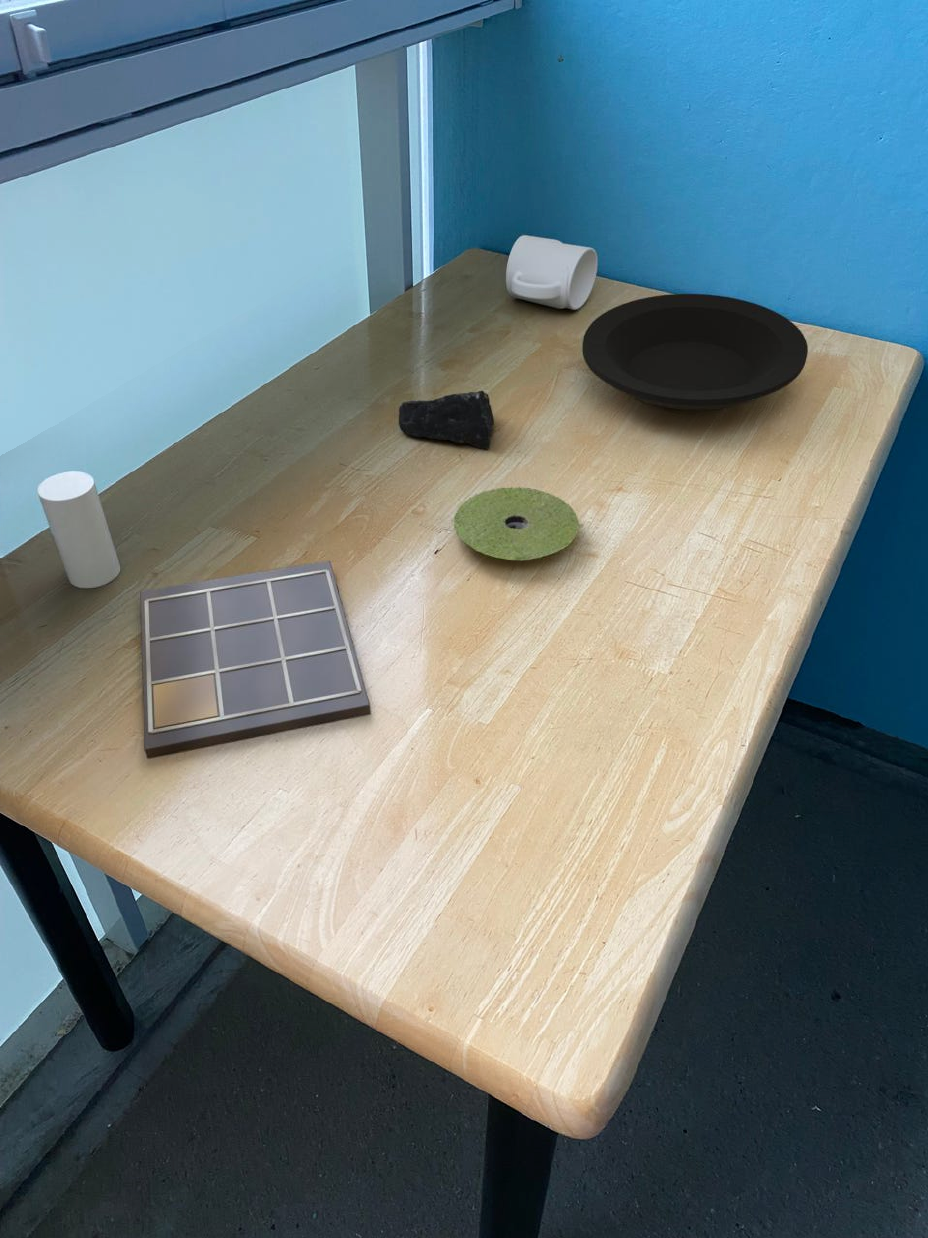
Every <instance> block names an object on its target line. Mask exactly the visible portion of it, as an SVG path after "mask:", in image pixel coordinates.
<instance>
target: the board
mask: <svg viewBox="0 0 928 1238" xmlns="http://www.w3.org/2000/svg"><path fill="white" fill-rule="evenodd" d="M139 595H140V596H139V597H140V629H141V630H140V636H141V640H140V641H141V674H142V679H141V680H142V715H143V719H142V721H143V750H144V753H145V757H146V758H147V759H153V758H157V757H162V756H167V755H172V754H177V753H182V752H186V751H192V750H197V749H202V748H206V747H212V746H218V745H222V744H223V745H224V744H227V743H233V742H238V741H243V740H247V739H252V738H253V739H254V738H258V737H262V736H267V735H271V734H277V733H283V732H287V731H293V730H297V729H302V728H307V727H312V726H317V725H322V724H323V725H324V724H328V723H332V722H337V721H338V722H339V721H343V720H348V719H352V718H358V717H363V716H368V715H371V713H372V711H371V703H370V700H369V697H368V694H367V690H366V686H365V682H364V678H363V674H362V671H361V668H360V664H359V660H358V656H357V652H356V649H355V646H354V642H353V640H352V636H351V631H350V627H349V624H348V621H347V617H346V613H345V610H344V606H343V602H342V597H341V595H340V591H339V588H338V584H337V581H336V577H335V574H334V570H333V567H332V562H331V560H323V561H318V562H312V563H306V564H300V565H293V566H287V567H281V568H280V567H279V568H275V569H274V568H273V569H269V570H263V571H256V572H250V573H245V574H238V575H233V576H226V577H221V578H215V579H208V580H203V581H196V582H195V581H194V582H189V583H182V584H177V585H172V586H165V587H159V588H153V589H146V590H141V591H140V594H139Z"/></svg>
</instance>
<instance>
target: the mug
mask: <svg viewBox="0 0 928 1238" xmlns="http://www.w3.org/2000/svg"><path fill="white" fill-rule="evenodd" d="M597 272H598V254H597V251H596V249H594V248H593V247H588V246H583V245H575V244H569V243H563V242H562V241H560V240H558V239H553V238H545V237H539V236H534V235H526V234H522V235H520V236H519V237H518V238H517V240H516V241H515V242H514V244H513V246H512V248H511V250H510V253H509V256H508V259H507V264H506V272H505V284H506V290H507V294H508V295H509V296H510V297H512V298H515V299H518V300H522V301H526V302H530V303H535V304H539V305H543V306H546V307H551V308H554V309H560V310H562V309H563V310H564V309H569V310H574V311H577V310H579V309H580V308H582V307H583V306H584V305H585V303H586V302H587V300H588V299H589V297H590V295H591V292H592V290H593V288H594V285H595V281H596V277H597Z"/></svg>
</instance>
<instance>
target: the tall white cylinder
mask: <svg viewBox="0 0 928 1238" xmlns="http://www.w3.org/2000/svg"><path fill="white" fill-rule="evenodd" d="M36 491H37V492H36V494H37V496H38V499H39V501H40V504H41V507H42V510H43V512H44V515H45V519H46V521H47V525H48V526H49V529H50V532H51V535H52V538H53V541H54V544H55V546H56V550H57V552H58V554H59V557H60V560H61V563H62V565H63V568H64V571H65V574H66V577H67V580H68V582H69V583H70V584H71V586H74V587H76V588H80V589H95V588H99V587H102V586H105V585H107V584H109V583H111V582H113V581H114V580H115V579H116V578H117V577H118V576H119V574H120V572H121V564H120V560H119V558H118V554H117V550H116V547H115V544H114V541H113V538H112V534H111V532H110V528H109V525H108V521H107V519H106V515H105V512H104V508H103V506H102V505H103V504H102V502H101V499H100V496H99V492H98V489H97V485H96V482H95V479H94V477H93V476H92V475H90V474H89V473H87V472H83V471H77V470H70V471H63V472H59V473H55V474H52V475H50V476H48V477H47V478H45V479H43V480H42V481H41V482H40V484H39V485H38V486H37V489H36Z"/></svg>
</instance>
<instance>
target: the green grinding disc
mask: <svg viewBox="0 0 928 1238" xmlns="http://www.w3.org/2000/svg"><path fill="white" fill-rule="evenodd" d="M453 527H454V530H455V532H456V535H457V536H458V537H459V538H460V539H461V541H462V542H463V543H465V544H466V545H467V546H468V547H470V548H471V549H472V550H475V551H476V552H479V553H482V554H483V555H486V556H489V557H491V558H496V559H501V560H502V559H503V560H510V561H530V560H531V561H532V560H537V559H541V558H542V557H547V556H550V555H552V554H556V553H557V552H559V551H561V550H563V549H565V548H566V547H568V546H569V545H570V544H571V543H572V542H573V541H574V539H575V538H576V537H577V534H578V531H579V527H580V523H579V518H578V516H577V513H576V512H575V510H574V508H573V507H571V505H569V504H568V503H567V502H566V501H565V500H563V499H561V498H560V497H558V496H555V495H553V494H551V493H549V492H546V491H542V490H539V489H535V488H531V487H520V486H517V487H513V486H511V487H501V488H500V487H499V488H496V489H490V490H487V491H486V490H485V491H482V492H480V493H476V494H475V495H473V496H472V497H469V498H468V499H467V500H465V501H464V502H462V503H461V504H460V505H459V507H458V509H457V510H456V512H455V515H454V518H453Z"/></svg>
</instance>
